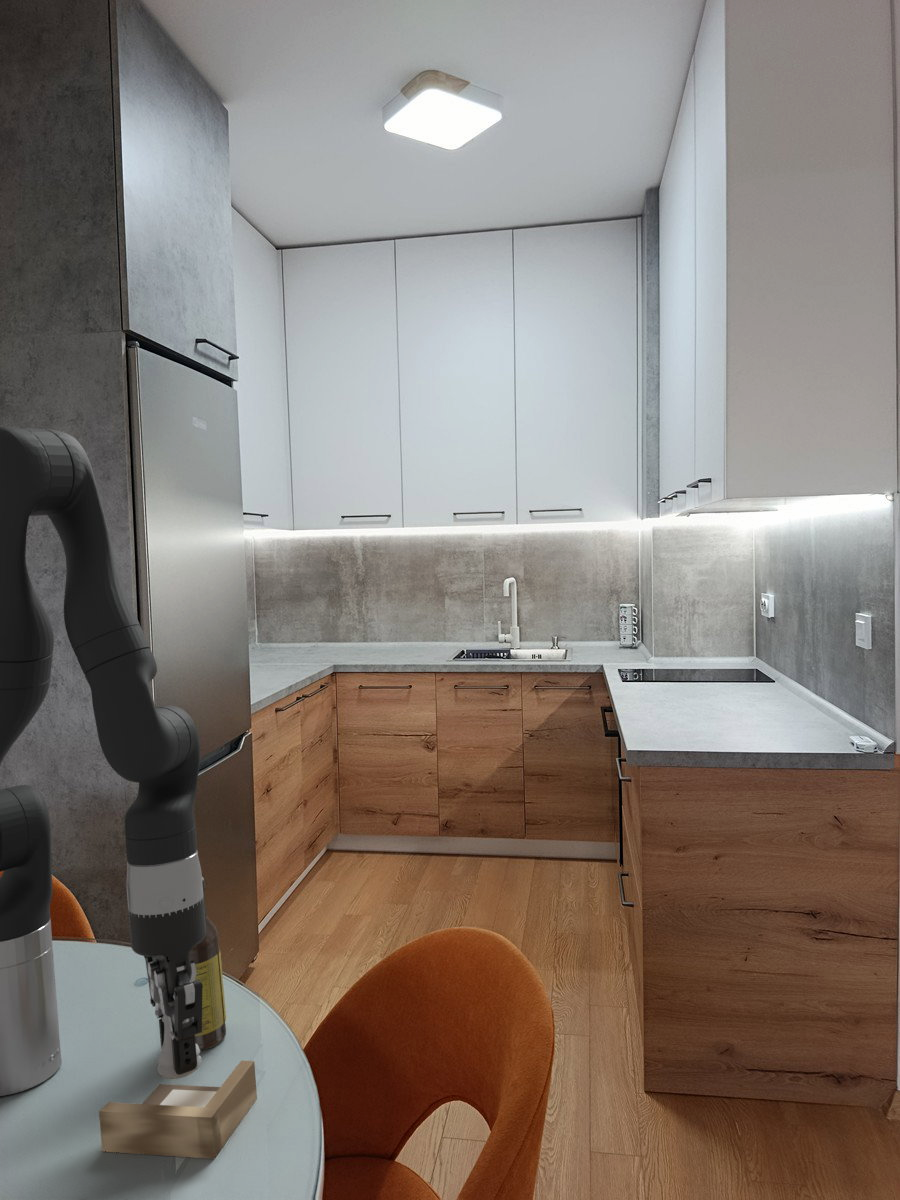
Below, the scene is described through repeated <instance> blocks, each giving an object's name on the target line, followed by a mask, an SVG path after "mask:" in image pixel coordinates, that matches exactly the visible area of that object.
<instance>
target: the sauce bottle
mask: <svg viewBox="0 0 900 1200" xmlns="http://www.w3.org/2000/svg"><path fill="white" fill-rule="evenodd" d="M202 884H203V896H204V909H205V921H206V935H205V937H204V939H203V940H202V941H201V942H200V943H199V944H197V945H195V946H194V947H193V948H192V949H191V950H190V951H189V956H190V960H194V963H195V968H196V977H195V981H197V980H200V981H201V983H202V985H203V988H202V1032H201V1033H198V1034H195V1043H196V1044H197V1045H198V1046H199V1049H200V1052H201V1051H204V1050H208V1049H212V1048H214V1047H215V1046H217V1045H219V1044H220V1043H221V1042H222V1040H223V1039H225V1037H226V1034H227V1028H226V1027H227V1026H226V1021H227V1011H226V1001H225V989H224V980H223V978H224V977H223V966H222V957H221V956H222V955H221V948H220V945H219V943H220V942H219V933H218V929H217V927H216V925H215V924H214V923H213V922H212V920H211V919H210V918H209V917H208V915H207V908H206V899H205V889H206V884H205V879H204V877H203V876H202ZM188 1022H189V1020H188Z"/></svg>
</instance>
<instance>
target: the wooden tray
mask: <svg viewBox="0 0 900 1200" xmlns="http://www.w3.org/2000/svg"><path fill="white" fill-rule="evenodd" d="M257 1091H258V1090H257V1080H256V1065H255V1061H254V1060H241V1061H240V1062H239V1063H238V1064H237V1065H236V1067H235V1068H234V1069H233V1070H232V1072H231V1073H230V1074H229V1075H228V1077H227V1078H226V1079H225V1081H223V1083H222V1084H221V1085H220V1086H208V1085H207V1086H205V1085H204V1086H202V1085H187V1084H186V1085H183V1084H182V1085H181V1084H160V1083H159V1085H157V1086H156V1087H155V1088H154V1090H153V1091H152V1092H151V1093H150V1094H149V1095H148V1096H147V1097H146V1098H145V1099H144V1101H143V1102H142V1103H131V1102H130V1103H129V1102H128V1103H127V1102H126V1103H125V1102H110V1101H108V1102H107V1103H105V1105H104V1106H102V1108H101V1109H100V1110H99V1111H98V1114H99V1126H100V1127H99V1129H100V1139H101V1140H100V1141H101V1143H100V1144H101V1152H102V1151H103V1153H104V1152H105V1151H106V1153H116V1152H117V1154H118V1152H119V1154H134V1155H135V1154H136V1155H148V1156H149V1155H150V1156H163V1157H165V1156H166V1157H178V1158H179V1157H180V1158H194V1159H195V1158H196V1159H209V1160H214V1159H216V1158H217V1156H218V1154H219V1153H220V1152H221V1151H222V1149H223V1148H224V1146H225V1145H226V1143H227V1142H228V1140H230V1138H231V1136H232V1135H233V1133H234V1131H236V1129H237V1128H238V1126H239V1125H240V1123H241V1122H242V1121H243V1120H244V1118H245V1116H246V1115H247V1113H248V1112H249V1110H250V1109H251V1107H252V1106H253V1105H254V1103H255V1102H256V1100H258V1095H257V1094H258V1093H257Z"/></svg>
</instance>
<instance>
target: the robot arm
mask: <svg viewBox="0 0 900 1200" xmlns="http://www.w3.org/2000/svg"><path fill="white" fill-rule="evenodd" d="M93 470H94V469H93V467H92V464H91V461H90V459H89V456H88V454H87V452H86V451H85V449H84V447H83V445H82V444H80V442H79V441H78V440H77V439H76V438H75V437H74V436H72V435H71V434H69V433H66V432H63V431H61V430H56V429H48V428H36V427H35V428H33V427H23V426H22V427H21V426H9V425H7V426H6V425H0V765H1V764H2V762H3V761H4V758H5V757H6V755H7V754H8V752H9V751H10V749H11V748H12V747H13V745H14V743H16V741H17V740H18V738H19V737H20V736H21V734H22V733H23V732H24V730H25V729H26V728H27V726H28V725H29V724H30V723H31V721H32V719H33V718H34V717H35V715H36V714H37V712H38V711H39V709H40V708H41V706H42V704H43V702H44V700H45V698H46V696H47V694H48V692H49V688H50V683H51V682H50V681H51V675H52V666H53V665H52V664H53V656H54V650H55V649H54V645H55V637H54V636H55V635H54V630H53V629H54V628H53V626H52V622H51V620H50V618H49V615H48V613H47V611H46V609H45V607H44V605H43V603H42V601H41V599H40V597H39V595H38V594H37V591H36V589H35V587H34V585H33V582H32V580H31V578H30V575H29V572H28V568H27V561H26V560H27V557H26V553H27V531H28V525H29V519H30V517H32V516H33V517H34V516H47V517H48V518H49V519H50V521H51V523H52V526H53V527H54V528H55V531H56V532H57V534H58V536H59V539H60V541H61V544H62V547H63V551H64V556H65V566H66V567H65V568H66V573H65V574H66V575H65V584H64V585H65V586H64V597H63V598H64V599H63V620H64V621H63V622H64V627H65V631H66V635H67V638H68V640H69V644H70V645H71V648H72V650H73V652H74V655H75V657H76V659H77V661H78V664H79V667H80V669H81V671H82V672H83V675H84V677H85V680H86V682H87V683H88V685H89V688H90V693H91V702H92V709H93V714H94V720H95V727H96V732H97V737H98V741H99V745H100V748H101V751H102V753H103V755H104V756H103V757H104V758H105V759H106V761H107V763H108V764H109V766H110V767H111V768H112V770H113V771H114V772H115V773H116V774H117V775H119V776H120V777H121V778H123V779H124V780H126V781H129V782H131V783H138V792H137V795H136V798H135V799H134V801H133V803H132V804H131V805H130V806H129V807H128V808H127V810H126V812H125V816H124V837H125V851H126V853H125V854H126V862H127V863H126V867H127V869H126V882H125V883H126V898H127V909H128V910H127V911H128V921H129V922H128V923H129V936H130V945H131V946H130V947H131V950H132V951H133V952H134V953H135V954H136V955H139V956H143V958H144V960H145V968H146V975H147V981H148V989H149V995H150V996H149V997H150V1000H149V1002H150V1004H151V1006H152V1007H155V1008H154V1009H155V1010H154V1014H155V1016H156V1018H157V1019H158V1025H159V1039H160V1049H161V1048H162V1046H163V1043H164V1030H165V1028H164V1022H163V1021H162V1018H163V1016H164V1015H165V1016H167V1017H168V1021H169V1027H170V1037H171V1041H172V1053H173V1066H174V1071H175V1072H176V1074H178V1075H181V1074H183V1073H186V1072H189V1071H192V1070H194V1069H195V1068H196V1067H197V1055H196V1043H195V1034H198V1033H201V1032H202V988H203V985H202V983H201V981H200V980H197V981H195V977H196V968H195V963H194V960H190V956H189V951H190V950H191V949H192V948H193V947H194V946H195V945H197V944H199V943H200V942H201V941H202V940H203V939H204V937H205V935H206V921H205V909H204V898H205V895H204V896H203V884H202V877H203V875H202V873H203V871H202V867H201V862H200V858H199V852H198V841H197V830H196V819H195V811H194V809H195V801H196V795H197V789H198V779H199V769H200V761H201V760H200V759H201V758H200V757H201V742H200V735H199V732H198V730H197V726H196V724H195V722H194V720H193V718H192V717H191V715H190V714H189V713H187V711H185V710H184V709H182V708H181V707H178V706H175V705H171V704H170V705H169V704H168V705H167V704H166V705H165V704H164V705H158V706H156V704H155V700H154V696H153V693H152V690H151V684H150V683H151V682H152V681H153V680H154V679H155V677H156V675H157V672H158V666H157V662H156V659H155V656H154V654H153V652H152V648H151V646H150V644H149V642H148V640H147V638H146V636H145V633H144V631H143V629H142V626H141V624H140V622H139V620H138V617H137V615H136V613H135V611H134V608H133V605H132V603H131V601H130V598H129V597H128V596H129V595H128V593H127V590H126V587H125V585H124V583H123V578H122V575H121V571H120V569H119V565H118V561H117V558H116V554H115V549H114V545H113V540H112V537H111V534H110V530H109V529H110V528H109V526H108V522H107V519H106V518H107V517H106V514H105V511H104V507H103V504H102V498H101V496H100V491H99V488H98V484H97V480H96V476H95V473H94V471H93ZM52 865H53V864H52V827H51V820H50V813H49V809H48V805H47V803H46V800H45V798H44V796H43V795H42V794H41V792H40V791H39V790H38V789H37V788H36V787H34V786H32V785H28V784H19V785H13V786H9V787H5V788H0V872H2V874H1V876H0V1097H2V1096H7V1095H8V1096H9V1095H12V1094H17V1093H19V1092H20V1093H22V1092H23V1091H26V1090H29V1089H32V1088H33V1087H35V1086H38V1085H40V1084H42V1083H43V1082H45V1081H46V1080H48V1079H49V1078H51V1077H52V1076H53V1075H55V1073H56V1072H58V1070H59V1069H60V1067H61V1065H62V1051H61V1038H60V1036H61V1035H60V1025H59V1012H58V1011H59V1009H58V1000H57V999H58V998H57V996H58V995H57V988H56V987H57V985H56V972H55V961H54V949H53V948H54V947H53V937H52V936H53V935H52V933H53V932H52V922H51V908H50V907H51V902H52V897H53V869H52V867H53V866H52ZM172 1001H174V1005H172V1006H170V1005H169V1002H172ZM160 1002H161V1008H162V1010H161V1009H160V1008H159V1006H158V1005H159V1003H160ZM186 1019H188V1020H189V1022H186V1023H183V1021H184V1020H186ZM182 1023H183V1024H182Z"/></svg>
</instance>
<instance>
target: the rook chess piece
mask: <svg viewBox="0 0 900 1200" xmlns="http://www.w3.org/2000/svg"><path fill="white" fill-rule="evenodd" d="M169 1005H170V1006H172V1005H174V1001H172V1002H169ZM158 1006H159V1008H160V1009H161V1010H162V1008H161V1002H160V1003H159V1005H158ZM162 1021H163V1022H164V1028H165V1030H164V1043H163V1046H162V1048H161V1047H160V1050H161V1051H160V1052H159V1054H158V1056H157V1064H158V1067H157V1073H158V1074H159V1075H160V1076H161V1077H162V1078H164V1079H166V1080H167V1079H169V1080H176V1079H181V1078H184V1077H187V1076H189V1075H192V1074H193V1073H194V1072H195V1071H196V1070H198V1068H199V1066H200V1064H201V1062H202V1061H203V1059H202V1057H201V1055H200V1053H201V1051H200V1049H199V1046H198V1045H197V1044H196V1055H197V1067H196V1068H195V1069H194V1070H192V1071H189V1072H186V1073H183V1074H181V1075H178V1074H176V1072H175V1071H174V1066H173V1053H172V1041H171V1037H170V1027H169V1021H168V1017H167V1016H165V1015H164V1016H163V1018H162ZM186 1022H188V1019H186V1020H184V1021H183V1023H186ZM183 1023H182V1024H183Z"/></svg>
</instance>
